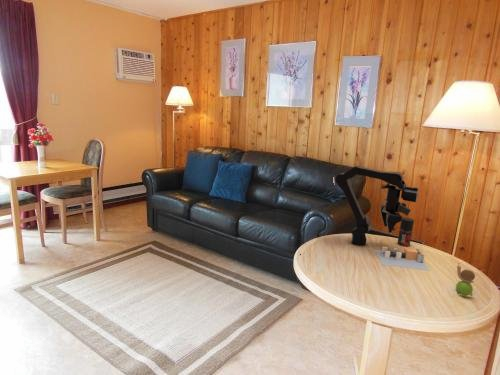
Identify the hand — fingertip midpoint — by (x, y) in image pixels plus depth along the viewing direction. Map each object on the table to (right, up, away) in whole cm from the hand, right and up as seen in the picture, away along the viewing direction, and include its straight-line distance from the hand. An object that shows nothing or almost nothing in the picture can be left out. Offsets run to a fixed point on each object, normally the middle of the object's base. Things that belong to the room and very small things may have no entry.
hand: (387, 229), depth 165 cm
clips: (0, -12, -5) cm, 13 cm away
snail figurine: (+15, -21, -34) cm, 43 cm away
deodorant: (+13, -11, +12) cm, 20 cm away
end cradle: (+11, -13, -6) cm, 18 cm away
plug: (+4, -12, -5) cm, 14 cm away
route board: (+3, -14, -8) cm, 16 cm away
